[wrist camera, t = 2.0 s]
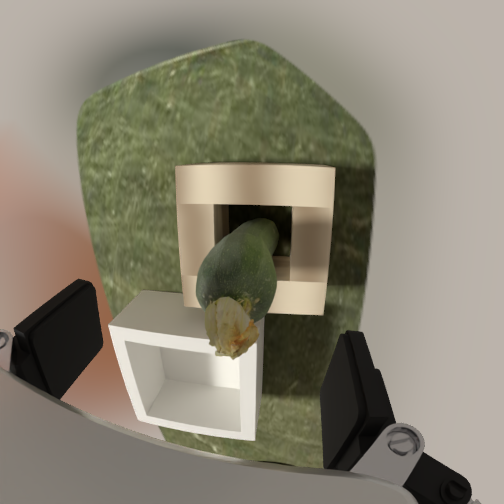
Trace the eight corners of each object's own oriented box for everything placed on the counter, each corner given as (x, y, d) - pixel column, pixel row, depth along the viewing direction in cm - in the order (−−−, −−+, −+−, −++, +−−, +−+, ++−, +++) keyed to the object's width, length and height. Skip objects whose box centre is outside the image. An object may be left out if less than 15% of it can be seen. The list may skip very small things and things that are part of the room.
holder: (325, 165, 26) (335, 167, 21) (317, 285, 30) (323, 315, 24) (197, 163, 28) (175, 165, 22) (202, 279, 31) (184, 306, 26)
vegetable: (240, 249, 30) (167, 397, 11) (233, 206, 29) (132, 307, 10) (285, 244, 29) (274, 399, 10) (279, 200, 28) (258, 299, 9)
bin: (264, 299, 31) (256, 343, 24) (261, 393, 36) (254, 440, 28) (142, 289, 33) (108, 324, 25) (160, 380, 37) (138, 420, 30)
